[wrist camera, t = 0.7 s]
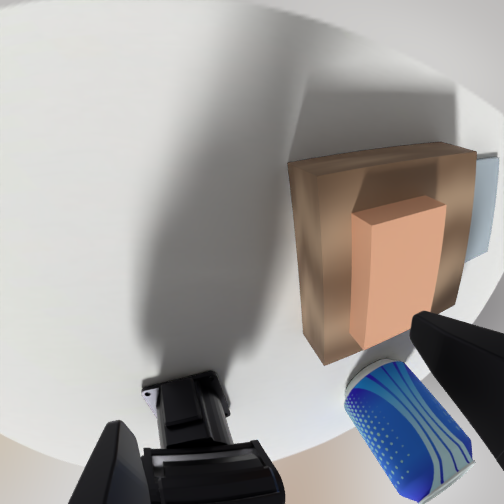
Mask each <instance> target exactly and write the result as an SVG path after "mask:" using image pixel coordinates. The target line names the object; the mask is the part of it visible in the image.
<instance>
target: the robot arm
mask: <svg viewBox="0 0 504 504" xmlns="http://www.w3.org/2000/svg"><path fill="white" fill-rule="evenodd" d="M410 339H411V341H412V343H413V344H414V346H415V348H416V349H417V351H418V352H419V354H420V355H421V357H422V358H423V360H424V362H425V363H426V365H427V366H428V368H429V370H430V371H431V373H432V374H433V376H434V377H435V378H436V379H437V381H438V382H439V383H440V385H441V386H442V387H443V388H444V390H445V391H446V392H447V394H448V395H449V396H450V397H451V399H452V400H453V401H454V403H455V404H456V405H457V406H458V408H459V409H460V411H461V412H462V413H463V415H464V416H465V417H466V418H467V420H468V421H469V422H470V424H471V425H472V427H473V428H474V429H475V431H476V432H477V433H478V435H479V436H480V438H481V439H482V440H483V442H484V443H485V444H486V446H487V447H488V449H489V450H490V452H491V453H492V454H493V455H494V457H495V459H496V460H497V462H498V463H499V465H500V466H501V468H502V469H503V471H504V334H503V333H500V332H497V331H493V330H490V329H487V328H483V327H479V326H476V325H473V324H469V323H466V322H462V321H459V320H456V319H452V318H449V317H445V316H442V315H439V314H435V313H432V312H428V311H421V312H419V313H417V314H415V315H414V316H413V317H412V322H411V329H410ZM209 377H210V378H209ZM146 392H149V393H146ZM142 396H143V398H144V399H145V401H146V402H147V404H148V405H149V407H150V409H151V410H152V412H153V413H154V415H155V416H156V418H157V421H158V430H159V438H160V446H161V449H151V448H144V456H141V457H140V453H139V449H138V444H137V440H136V438H135V436H134V434H133V433H132V432H131V431H130V430H129V428H128V427H127V426H126V425H125V424H124V422H123V421H121V420H116V421H111V422H108V423H107V424H106V426H105V428H104V430H103V432H102V434H101V436H100V438H99V440H98V442H97V444H96V446H95V448H94V450H93V452H92V454H91V456H90V458H89V460H88V462H87V464H86V466H85V469H84V471H83V473H82V475H81V477H80V479H79V481H78V484H77V485H76V488H75V490H74V492H73V494H72V496H71V498H70V500H69V503H68V504H285V490H284V486H283V482H282V479H281V477H280V475H279V473H278V471H277V470H276V468H275V467H274V465H273V464H272V462H271V460H270V459H269V457H268V456H267V454H266V453H265V451H264V449H263V448H262V446H261V445H260V443H259V441H258V440H252V441H250V442H245V443H237V444H234V443H233V440H232V437H231V434H230V430H229V427H228V424H227V421H226V417H228V416H230V410H229V408H228V405H227V402H226V400H225V397H224V394H223V391H222V389H221V386H220V383H219V380H218V377H217V375H216V373H215V372H213V371H209V372H205V373H202V374H198V375H194V376H190V377H186V378H182V379H178V380H174V381H170V382H166V383H161V384H157V385H152V386H148V387H144V388H143V389H142Z"/></svg>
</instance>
